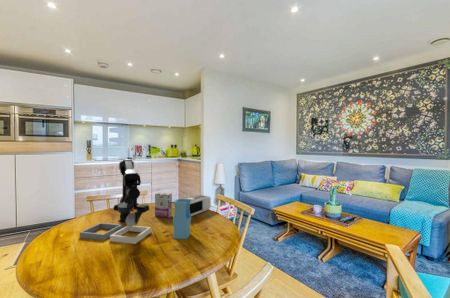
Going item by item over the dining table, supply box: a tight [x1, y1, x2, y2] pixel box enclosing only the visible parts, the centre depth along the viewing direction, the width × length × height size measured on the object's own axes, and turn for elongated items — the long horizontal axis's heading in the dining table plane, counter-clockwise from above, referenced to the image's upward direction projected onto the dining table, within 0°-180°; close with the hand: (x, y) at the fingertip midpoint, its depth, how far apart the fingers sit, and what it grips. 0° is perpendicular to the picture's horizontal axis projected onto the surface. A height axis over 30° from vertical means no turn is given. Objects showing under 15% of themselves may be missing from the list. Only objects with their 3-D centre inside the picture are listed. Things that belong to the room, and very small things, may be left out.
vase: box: [172, 198, 192, 240], centre depth 121 cm, size 8×8×20 cm
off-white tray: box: [109, 225, 152, 245], centre depth 119 cm, size 15×15×3 cm
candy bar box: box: [154, 192, 173, 219], centre depth 153 cm, size 11×5×16 cm, turn 73°
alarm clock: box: [186, 194, 212, 217], centre depth 161 cm, size 27×9×12 cm, turn 145°
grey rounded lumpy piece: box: [125, 212, 136, 227], centre depth 119 cm, size 6×7×7 cm
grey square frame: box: [79, 222, 123, 241], centre depth 123 cm, size 15×15×3 cm
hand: (131, 223), depth 119 cm, fingers closed on grey rounded lumpy piece, 6 cm apart
